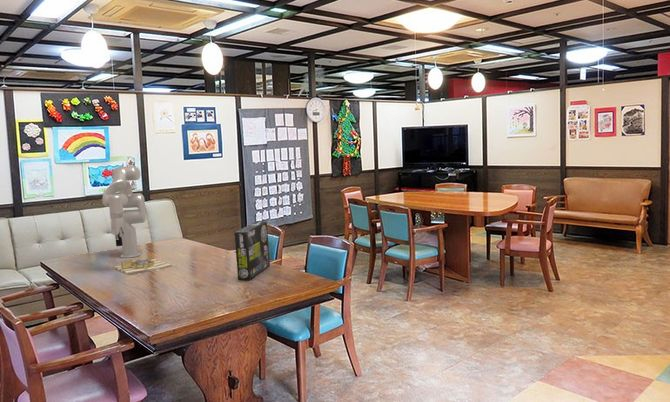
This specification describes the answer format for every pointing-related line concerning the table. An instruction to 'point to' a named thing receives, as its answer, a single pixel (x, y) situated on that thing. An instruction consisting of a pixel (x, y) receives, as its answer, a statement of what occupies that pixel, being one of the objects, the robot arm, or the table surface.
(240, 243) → the box
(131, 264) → the ring nut
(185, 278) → the table surface
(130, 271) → the base
